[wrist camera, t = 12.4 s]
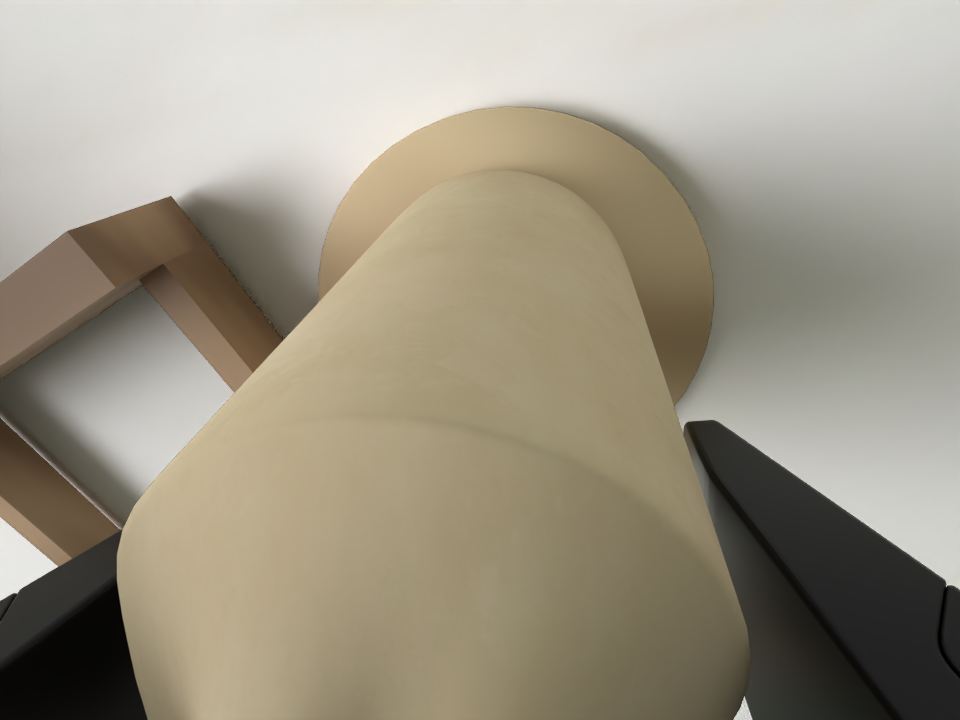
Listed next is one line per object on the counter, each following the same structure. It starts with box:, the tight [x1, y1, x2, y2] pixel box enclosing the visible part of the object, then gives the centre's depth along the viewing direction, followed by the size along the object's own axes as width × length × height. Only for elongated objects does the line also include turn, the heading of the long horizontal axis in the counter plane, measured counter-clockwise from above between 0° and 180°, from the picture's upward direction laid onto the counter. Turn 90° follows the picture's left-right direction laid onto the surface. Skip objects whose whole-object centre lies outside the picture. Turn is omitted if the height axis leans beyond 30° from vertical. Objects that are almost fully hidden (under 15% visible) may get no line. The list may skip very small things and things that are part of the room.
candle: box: [117, 170, 751, 720], centre depth 8 cm, size 6×6×10 cm
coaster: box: [319, 107, 714, 406], centre depth 13 cm, size 9×9×1 cm
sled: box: [0, 196, 283, 567], centre depth 17 cm, size 25×11×5 cm, turn 30°
